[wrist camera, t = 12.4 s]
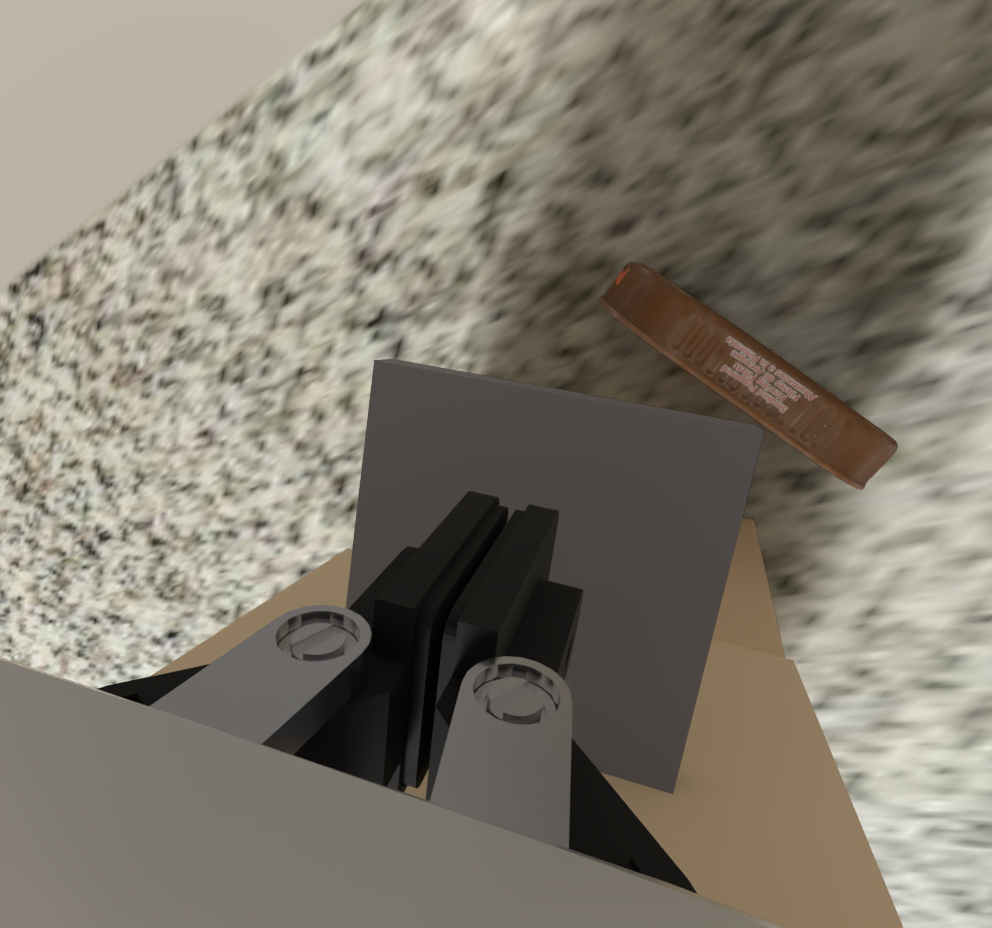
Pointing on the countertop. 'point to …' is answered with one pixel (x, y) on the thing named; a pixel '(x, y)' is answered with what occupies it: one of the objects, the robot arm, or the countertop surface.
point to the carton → (748, 599)
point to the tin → (748, 375)
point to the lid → (625, 622)
